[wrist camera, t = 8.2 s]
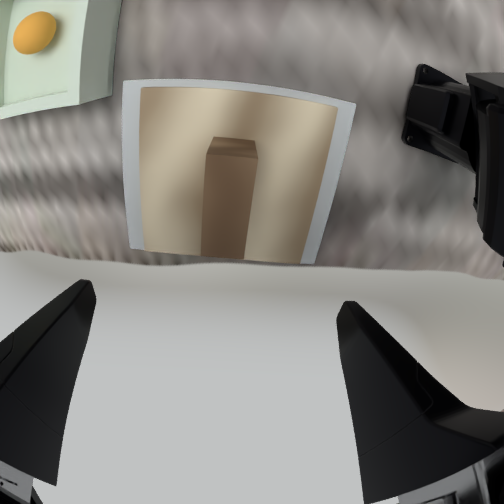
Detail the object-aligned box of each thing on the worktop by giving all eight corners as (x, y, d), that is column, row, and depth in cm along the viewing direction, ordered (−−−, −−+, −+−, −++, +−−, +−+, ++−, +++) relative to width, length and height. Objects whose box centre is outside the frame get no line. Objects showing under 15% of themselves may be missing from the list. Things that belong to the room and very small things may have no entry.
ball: (68, 10, 10) (42, 1, 7) (60, 50, 12) (32, 46, 9) (36, 21, 10) (9, 17, 7) (29, 59, 11) (0, 59, 9)
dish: (131, -44, 9) (106, -65, 5) (112, 95, 15) (79, 104, 11) (15, -4, 8) (-20, -6, 4) (4, 113, 14) (-32, 128, 10)
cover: (334, 106, 16) (363, 118, 12) (298, 258, 23) (309, 300, 19) (144, 87, 15) (114, 93, 11) (147, 245, 21) (129, 285, 18)
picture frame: (353, 103, 16) (356, 104, 16) (312, 260, 24) (313, 264, 23) (125, 80, 15) (123, 80, 14) (131, 245, 22) (130, 248, 22)
